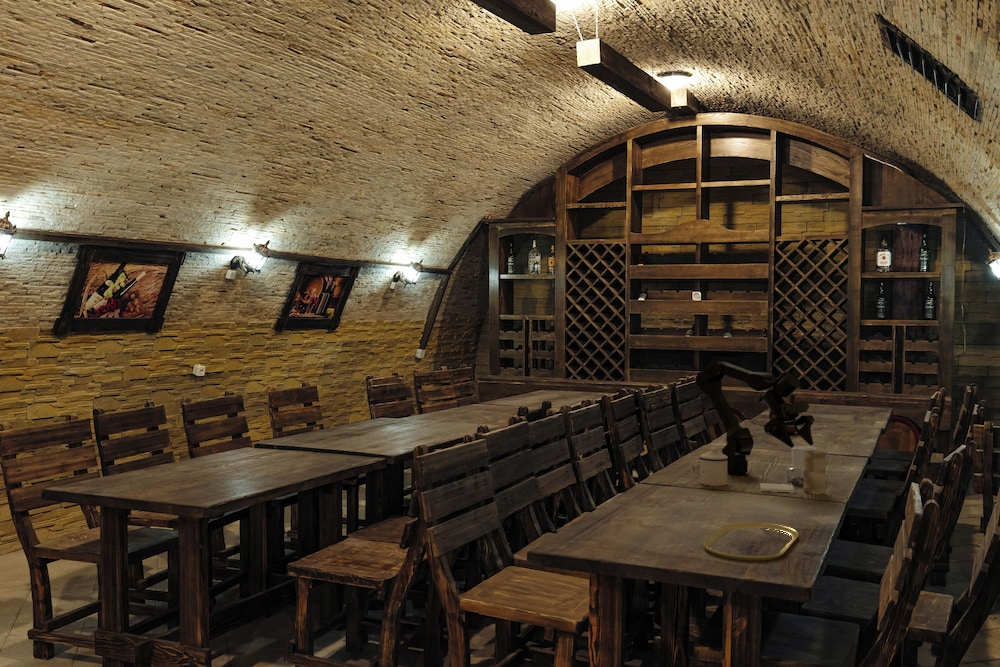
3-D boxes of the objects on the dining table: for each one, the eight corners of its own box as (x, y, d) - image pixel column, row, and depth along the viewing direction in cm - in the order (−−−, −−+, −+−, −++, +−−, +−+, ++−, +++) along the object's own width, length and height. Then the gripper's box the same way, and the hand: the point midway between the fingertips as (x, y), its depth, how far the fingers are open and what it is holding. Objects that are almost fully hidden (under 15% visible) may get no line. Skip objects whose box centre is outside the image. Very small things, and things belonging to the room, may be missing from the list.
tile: (761, 491, 285) (761, 488, 285) (759, 486, 294) (759, 483, 294) (794, 493, 283) (794, 490, 283) (792, 487, 291) (792, 484, 291)
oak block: (803, 491, 285) (804, 450, 285) (814, 490, 287) (814, 449, 287) (814, 494, 281) (815, 452, 281) (825, 493, 283) (825, 451, 283)
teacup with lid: (729, 482, 300) (729, 447, 299) (726, 487, 291) (726, 451, 291) (692, 479, 304) (692, 444, 303) (688, 484, 295) (688, 448, 295)
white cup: (816, 479, 306) (817, 449, 306) (792, 478, 308) (792, 448, 307) (813, 475, 314) (814, 446, 313) (789, 474, 315) (790, 445, 315)
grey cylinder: (787, 484, 297) (787, 469, 297) (786, 481, 302) (786, 466, 301) (801, 485, 296) (801, 469, 296) (800, 482, 301) (800, 467, 300)
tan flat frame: (804, 533, 234) (804, 527, 234) (776, 567, 204) (776, 560, 203) (731, 524, 243) (731, 518, 243) (693, 556, 212) (693, 549, 212)
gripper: (773, 392, 290) (798, 434, 282) (812, 390, 300) (838, 430, 292) (752, 412, 297) (776, 453, 289) (791, 409, 307) (815, 449, 299)
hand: (802, 446), depth 292 cm, fingers open, 9 cm apart
